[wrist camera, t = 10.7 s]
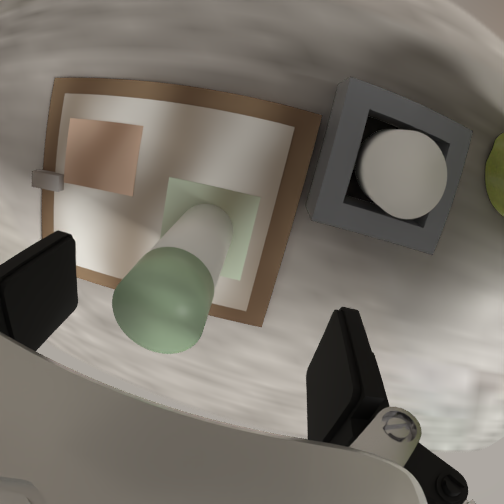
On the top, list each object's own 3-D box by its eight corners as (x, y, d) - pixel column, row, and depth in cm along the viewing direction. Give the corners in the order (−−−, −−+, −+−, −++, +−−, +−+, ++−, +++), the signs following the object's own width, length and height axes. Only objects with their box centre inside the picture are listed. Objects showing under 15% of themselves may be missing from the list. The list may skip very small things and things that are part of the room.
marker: (239, 210, 17) (211, 286, 9) (227, 262, 18) (196, 363, 10) (183, 197, 17) (113, 260, 9) (175, 249, 18) (112, 338, 10)
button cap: (433, 144, 14) (456, 149, 12) (411, 214, 15) (431, 228, 13) (366, 117, 14) (382, 116, 11) (345, 193, 15) (356, 204, 13)
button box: (447, 128, 15) (472, 131, 12) (413, 236, 17) (432, 255, 15) (338, 84, 15) (350, 76, 12) (305, 205, 17) (311, 220, 15)
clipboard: (320, 115, 15) (324, 114, 14) (261, 321, 20) (261, 333, 19) (55, 78, 15) (43, 77, 14) (44, 261, 20) (34, 268, 19)
